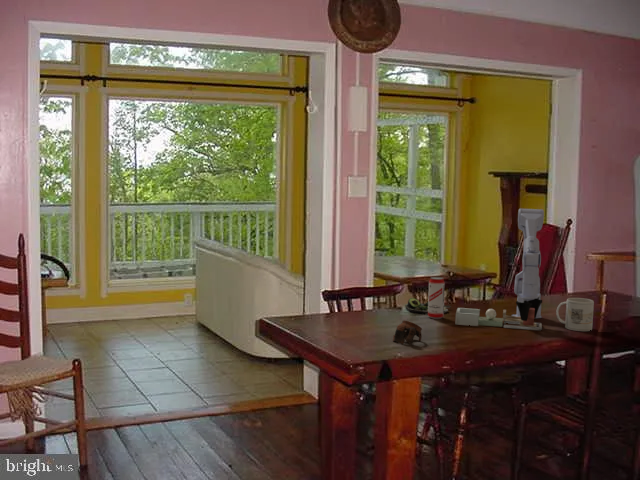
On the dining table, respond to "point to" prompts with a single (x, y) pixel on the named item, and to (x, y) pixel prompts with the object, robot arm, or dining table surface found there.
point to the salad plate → (419, 307)
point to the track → (499, 322)
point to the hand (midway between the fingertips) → (528, 319)
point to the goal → (467, 316)
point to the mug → (578, 314)
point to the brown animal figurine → (407, 332)
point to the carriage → (522, 323)
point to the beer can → (436, 298)
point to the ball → (490, 313)
